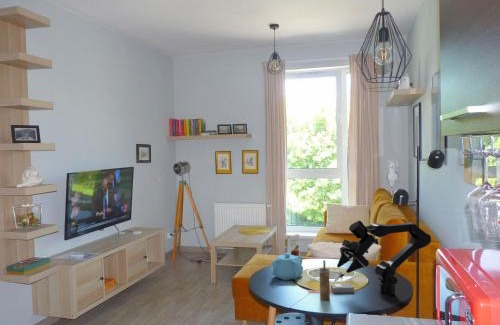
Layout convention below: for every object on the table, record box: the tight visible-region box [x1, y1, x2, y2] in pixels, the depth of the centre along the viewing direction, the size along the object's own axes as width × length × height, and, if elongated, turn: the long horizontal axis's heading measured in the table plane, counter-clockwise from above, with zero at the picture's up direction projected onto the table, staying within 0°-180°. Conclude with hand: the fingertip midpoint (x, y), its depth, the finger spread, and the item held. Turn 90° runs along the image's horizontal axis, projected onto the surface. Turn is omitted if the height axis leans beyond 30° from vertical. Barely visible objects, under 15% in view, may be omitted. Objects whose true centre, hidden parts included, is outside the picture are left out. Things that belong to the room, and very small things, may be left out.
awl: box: [319, 259, 331, 302], centre depth 182 cm, size 4×4×18 cm
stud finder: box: [330, 282, 355, 294], centre depth 192 cm, size 10×6×3 cm, turn 93°
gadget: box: [308, 268, 342, 281], centre depth 218 cm, size 23×15×4 cm, turn 154°
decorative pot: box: [271, 252, 304, 282], centre depth 218 cm, size 16×16×14 cm
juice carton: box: [283, 232, 301, 261], centre depth 244 cm, size 8×9×19 cm
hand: (342, 269), depth 184 cm, fingers open, 9 cm apart
